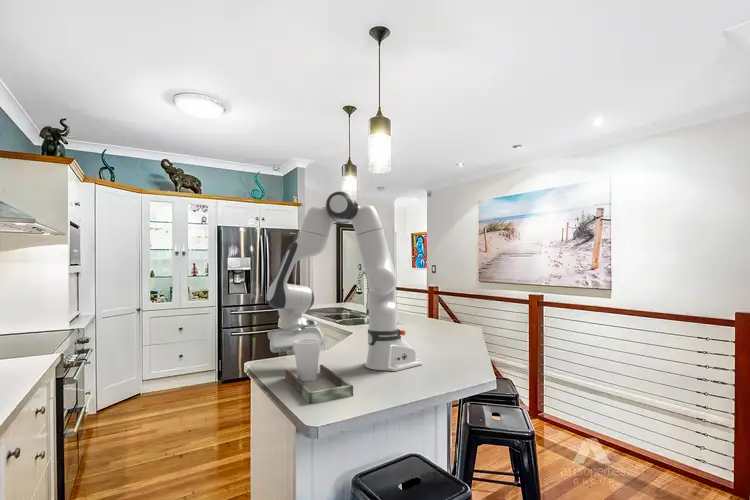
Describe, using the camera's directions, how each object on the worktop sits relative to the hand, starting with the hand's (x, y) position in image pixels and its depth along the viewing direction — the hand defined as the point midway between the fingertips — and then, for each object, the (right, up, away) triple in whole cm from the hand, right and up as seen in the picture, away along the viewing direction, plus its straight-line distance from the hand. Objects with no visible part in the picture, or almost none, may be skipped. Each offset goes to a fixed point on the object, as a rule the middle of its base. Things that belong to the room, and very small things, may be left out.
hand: (301, 358), depth 139 cm
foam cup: (+4, -5, -7) cm, 9 cm away
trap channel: (+8, -5, -16) cm, 18 cm away
